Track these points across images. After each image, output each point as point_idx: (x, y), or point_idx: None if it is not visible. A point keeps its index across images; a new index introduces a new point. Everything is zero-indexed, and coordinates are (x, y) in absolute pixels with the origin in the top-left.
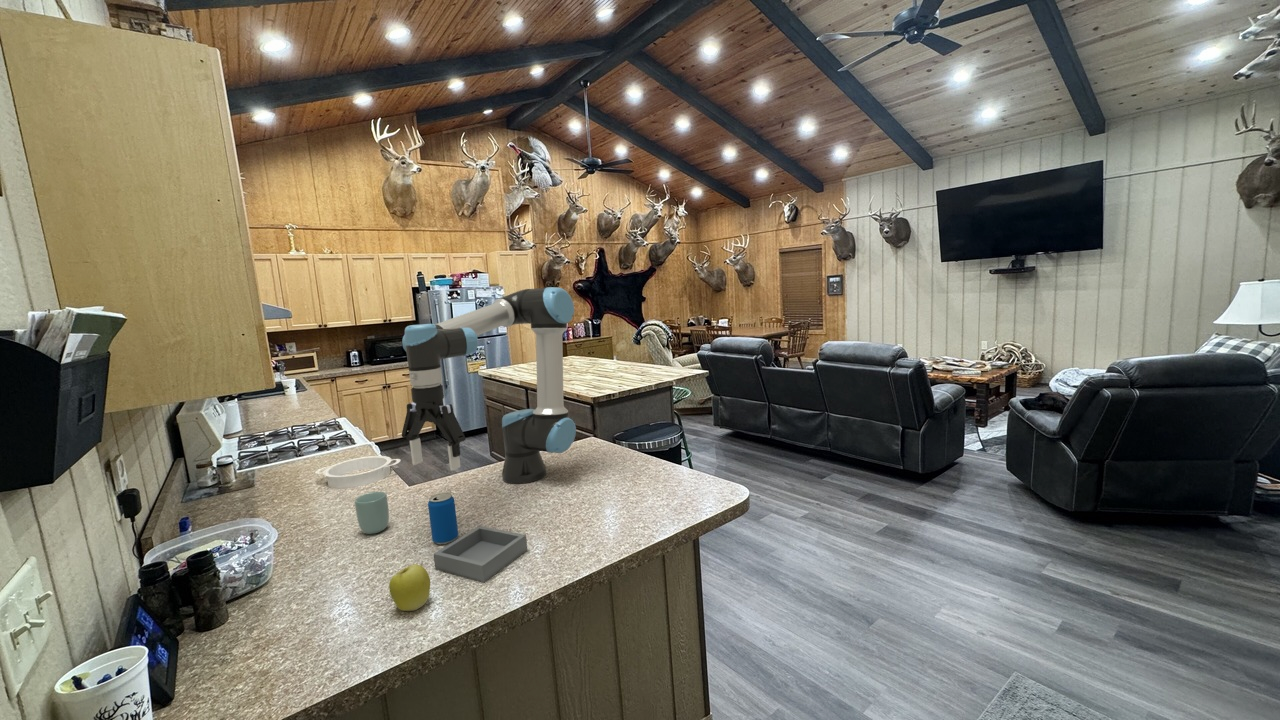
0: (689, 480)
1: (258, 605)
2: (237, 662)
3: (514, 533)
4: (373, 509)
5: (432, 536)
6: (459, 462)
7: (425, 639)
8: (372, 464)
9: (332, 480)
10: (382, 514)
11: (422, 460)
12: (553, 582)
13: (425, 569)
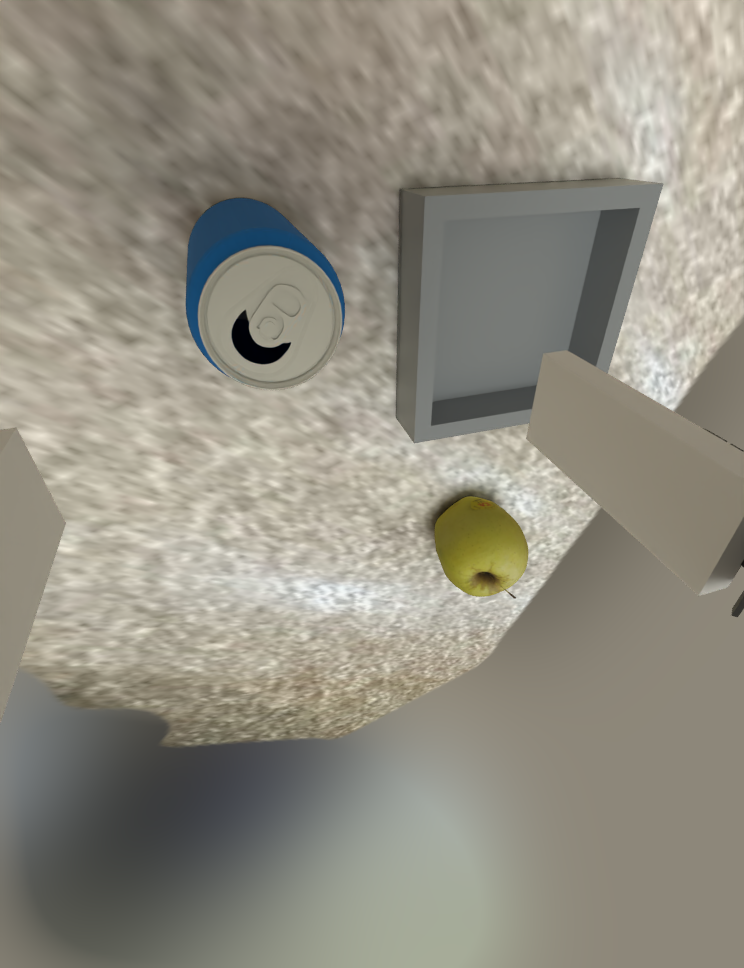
0: None
1: (136, 685)
2: (313, 703)
3: (614, 192)
4: None
5: (235, 324)
6: (594, 373)
7: (551, 544)
8: None
9: None
10: None
11: (12, 439)
12: (732, 303)
13: (512, 534)
